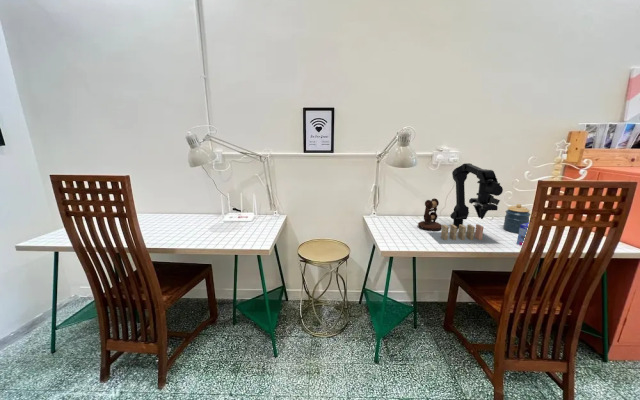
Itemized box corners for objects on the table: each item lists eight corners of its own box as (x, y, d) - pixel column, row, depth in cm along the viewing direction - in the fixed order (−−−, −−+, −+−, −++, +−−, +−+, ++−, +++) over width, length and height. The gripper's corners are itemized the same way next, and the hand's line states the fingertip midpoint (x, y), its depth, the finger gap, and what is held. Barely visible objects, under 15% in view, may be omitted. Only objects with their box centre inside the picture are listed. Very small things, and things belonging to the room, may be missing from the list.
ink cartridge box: (526, 248, 144) (531, 223, 141) (515, 244, 149) (519, 220, 146) (537, 245, 148) (542, 220, 145) (526, 241, 153) (530, 217, 150)
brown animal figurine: (426, 223, 188) (428, 195, 183) (446, 229, 176) (449, 199, 171) (413, 227, 180) (415, 198, 175) (433, 233, 168) (435, 203, 163)
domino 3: (461, 240, 156) (463, 227, 154) (457, 237, 161) (459, 224, 159) (464, 240, 156) (466, 227, 154) (460, 237, 161) (461, 224, 159)
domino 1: (444, 240, 156) (445, 227, 154) (441, 237, 161) (442, 224, 159) (447, 240, 156) (448, 227, 154) (443, 237, 161) (444, 224, 159)
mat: (427, 232, 169) (427, 232, 169) (481, 232, 168) (481, 232, 168) (439, 244, 151) (439, 243, 151) (500, 244, 150) (500, 243, 150)
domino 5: (479, 240, 155) (480, 227, 154) (474, 236, 160) (476, 224, 159) (481, 240, 155) (483, 227, 154) (477, 236, 160) (478, 224, 158)
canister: (526, 229, 174) (531, 203, 170) (528, 235, 163) (533, 207, 159) (502, 225, 181) (506, 200, 177) (502, 231, 170) (507, 204, 166)
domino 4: (470, 240, 156) (472, 227, 154) (466, 237, 160) (467, 224, 159) (473, 240, 156) (474, 227, 154) (468, 237, 160) (470, 224, 159)
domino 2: (453, 240, 156) (454, 227, 154) (449, 237, 161) (450, 224, 159) (455, 240, 156) (457, 227, 154) (452, 237, 161) (453, 224, 159)
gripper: (509, 195, 142) (505, 223, 146) (488, 188, 160) (485, 213, 164) (488, 195, 142) (484, 223, 146) (470, 189, 161) (467, 213, 164)
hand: (480, 218), depth 155 cm, fingers closed
